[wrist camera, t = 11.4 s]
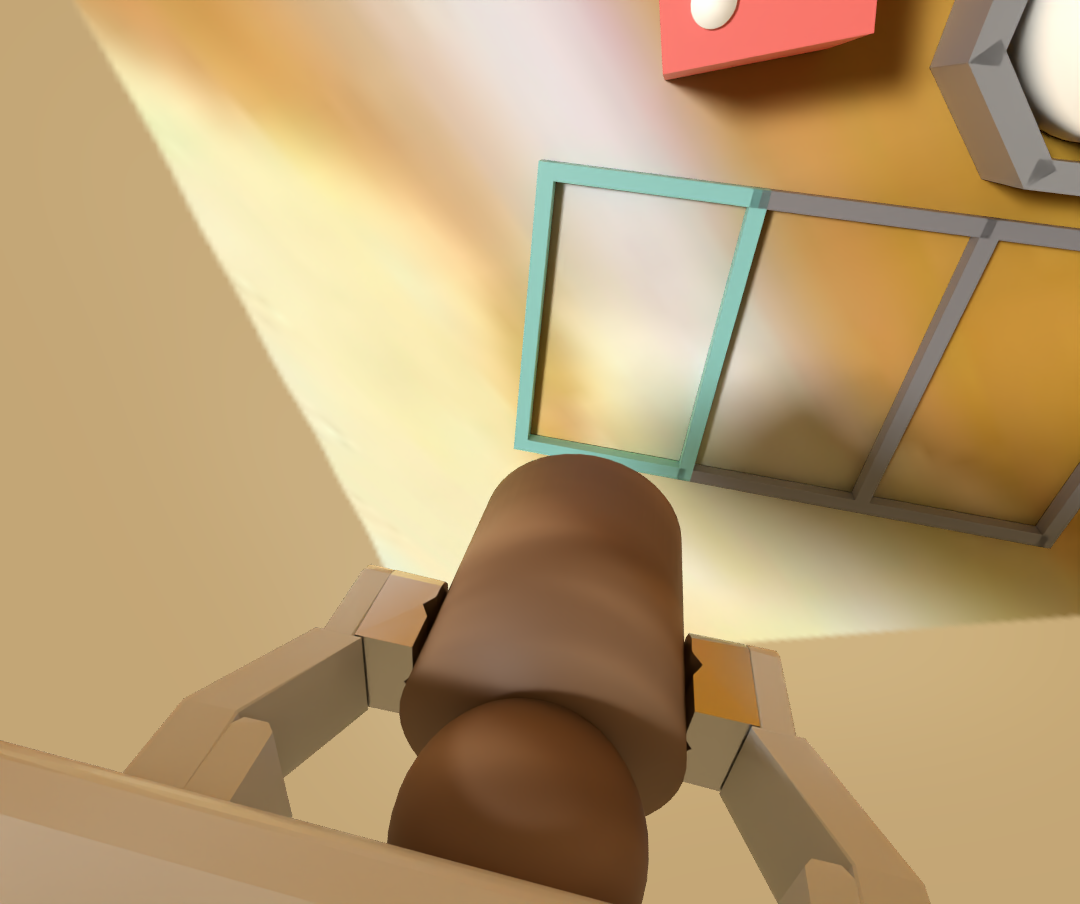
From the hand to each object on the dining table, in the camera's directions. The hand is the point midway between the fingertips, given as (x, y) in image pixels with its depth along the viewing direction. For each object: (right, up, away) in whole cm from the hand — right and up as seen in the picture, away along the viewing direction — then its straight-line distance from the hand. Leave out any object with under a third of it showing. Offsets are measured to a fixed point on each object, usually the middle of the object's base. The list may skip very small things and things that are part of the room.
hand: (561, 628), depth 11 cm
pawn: (+1, +1, +2) cm, 3 cm away
